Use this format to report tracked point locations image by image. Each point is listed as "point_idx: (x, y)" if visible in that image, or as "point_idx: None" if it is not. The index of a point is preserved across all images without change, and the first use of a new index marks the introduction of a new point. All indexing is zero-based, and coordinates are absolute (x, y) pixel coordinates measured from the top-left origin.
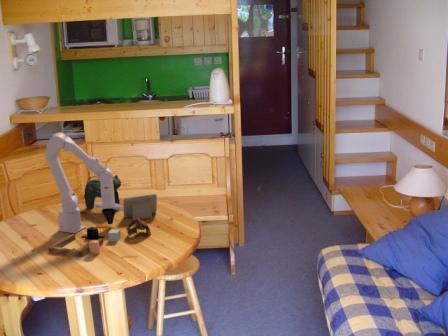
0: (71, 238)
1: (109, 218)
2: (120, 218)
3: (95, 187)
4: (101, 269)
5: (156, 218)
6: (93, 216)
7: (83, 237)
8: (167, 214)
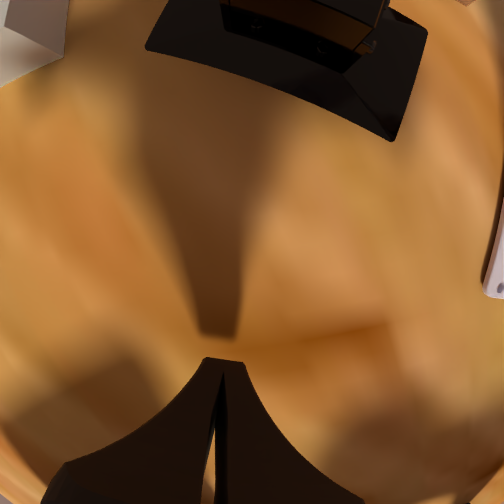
0: None
1: (180, 406)
2: None
3: None
4: None
5: (26, 472)
6: (441, 471)
7: (393, 11)
8: (29, 497)
